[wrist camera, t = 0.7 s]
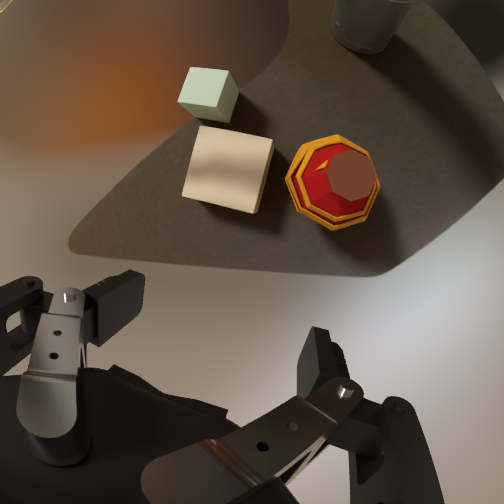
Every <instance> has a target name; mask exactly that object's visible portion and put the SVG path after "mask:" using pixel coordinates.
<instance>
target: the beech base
mask: <svg viewBox="0 0 504 504" xmlns="http://www.w3.org/2000/svg"><path fill="white" fill-rule="evenodd" d="M274 148H275V147H274V143H273V140H272V139H268V138H264V137H259V136H254V135H250V134H245V133H240V132H235V131H229V130H224V129H218V128H212V127H206V126H200V128H199V131H198V135H197V138H196V142H195V146H194V149H193V153H192V157H191V161H190V164H189V168H188V172H187V176H186V180H185V185H184V189H183V193H182V196H184V197H188V198H193V199H197V200H201V201H205V202H209V203H213V204H217V205H221V206H225V207H229V208H233V209H237V210H240V211H244V212H248V213H252V214H254V213H257V212H258V209H259V205H260V201H261V197H262V193H263V190H264V186H265V182H266V178H267V174H268V171H269V167H270V163H271V159H272V155H273V152H274Z"/></svg>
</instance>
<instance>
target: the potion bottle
mask: <svg viewBox="0 0 504 504" xmlns="http://www.w3.org/2000/svg"><path fill="white" fill-rule="evenodd" d="M285 181H286V183H287V186H288V188H289V191H290V193H291V196H292V198H293V201H294V203H295V206H296V209H297V211H298V212H300V213H302V214H304V215H306V216H307V217H309V218H311V219H313V220H315V221H316V222H318V223H320V224H322V225H323V226H325V227H327V228H328V229H330V230H332V231H334V230H337V229H340V228H344V227H347V226H350V225H353V224H357V223H360V222H363V221H365V220H366V218H367V216H368V214H369V212H370V209H371V207H372V205H373V202H374V200H375V198H376V195H377V193H378V191H379V188H380V183H379V180H378V177H377V174H376V171H375V168H374V166H373V163H372V160H371V157H370V155H369V152H367V151H365V150H364V149H362V148H361V147H359V146H357V145H356V144H354V143H352V142H350V141H349V140H347V139H345V138H343V137H342V136H340V135H333V136H329V137H325V138H321V139H318V140H315V141H312V142H309V143H306V144H303V145H302V146H301V147H300V149H299V150H298V152H297V153H296V155H295V157H294V160H293V162H292V164H291V166H290V169H289V171H288V173H287V175H286V177H285Z"/></svg>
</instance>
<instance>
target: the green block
mask: <svg viewBox="0 0 504 504" xmlns="http://www.w3.org/2000/svg"><path fill="white" fill-rule="evenodd" d="M238 94H239V90H238V88H237V86H236V84H235V83H234V81H233V78H232V76H231V75H230V73H229V71H225V70H217V69H216V70H215V69H206V68H194V67H190V70H189V72H188V75H187V77H186V80H185V83H184V85H183V88H182V91H181V94H180V96H179V99H178V103H179V104H181V105H182V106H183V107H184V108H185V109H187V110H188V111H189V112H190V113H192V114H193V115H194V116H195V117H197V118H203V119H209V120H215V121H220V122H225V123H229V122H230V119H231V116H232V113H233V109H234V106H235V103H236V100H237V97H238Z"/></svg>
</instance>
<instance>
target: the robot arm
mask: <svg viewBox="0 0 504 504" xmlns="http://www.w3.org/2000/svg"><path fill="white" fill-rule="evenodd" d="M414 1H415V0H336V1H335V6H334V11H333V16H332V21H331V31H332V34H333V36H334V37H335V39H336V40H337V41H338V42H339V43H340V44H342V45H343V46H344V47H346V48H348V49H349V50H352V51H354V52H357V53H361V54H367V55H371V54H377V53H380V52H382V51H383V50H384V49H385V48H386V46H387V44H388V43H389V41H390V40H391V38H392V37H393V35H394V33H395V32H396V30H397V29H398V27H399V25H400V24H401V22H402V20H403V19H404V17H405V16H406V14H407V12H408V11H409V9H410V7H411V6H412V4H413V3H414ZM144 285H145V276H144V274H141V273H139V272H136V271H133V270H128V271H126V272H124V273H122V274H120V275H116V276H111V277H108V278H106V279H104V280H102V281H100V282H98V283H97V284H94V285H92V286H90V287H88V288H86V289H84V290H82V291H81V290H79V289H77V288H72V287H65V288H60V289H58V290H56V291H55V293H54V294H53V293H49V292H45V291H43V281H42V280H41V279H40V278H38V277H34V276H26V277H21V278H19V279H17V280H14V281H12V282H10V283H8V284H6V285H3V286H1V287H0V504H299V502H298V501H297V500H296V499H295V497H294V496H293V495H292V493H291V492H290V491H289V490H288V488H287V487H286V485H288V484H289V483H290V482H291V481H292V480H293V479H294V478H295V477H296V476H297V475H298V474H299V473H300V472H301V471H302V470H303V469H305V468H306V467H307V466H308V465H309V464H310V463H311V462H312V461H313V460H315V459H316V458H317V457H318V456H319V455H320V454H321V453H322V452H323V451H324V450H325V449H326V448H327V447H328V446H329V445H333V446H336V447H338V448H341V449H344V450H347V451H348V454H349V474H350V504H445V503H444V499H443V495H442V492H441V488H440V484H439V480H438V477H437V473H436V470H435V467H434V463H433V460H432V457H431V454H430V451H429V448H428V445H427V442H426V439H425V436H424V434H423V431H422V428H421V425H420V423H419V420H418V417H417V414H416V412H415V409H414V408H413V406H412V405H411V404H410V403H409V402H408V401H406V400H405V399H403V398H400V397H396V396H390V397H387V398H386V399H385V400H384V402H383V403H382V405H381V404H379V403H376V402H373V401H370V400H368V399H365V398H364V397H363V396H364V392H363V389H362V388H361V386H360V385H358V384H357V383H356V382H355V381H353V380H350V376H349V372H348V368H347V364H346V361H345V358H344V354H343V350H342V349H341V348H340V346H339V345H338V344H337V343H335V342H331V338H330V334H329V331H328V330H326V329H321V328H317V327H314V326H313V327H312V328H311V330H310V332H309V334H308V337H307V340H306V342H305V344H304V347H303V349H302V351H301V354H300V357H299V360H298V365H297V395H296V396H294V397H292V398H291V399H289V400H288V401H286V402H285V403H283V404H281V405H280V406H278V407H277V408H275V409H273V410H271V411H270V412H268V413H266V414H265V415H263V416H261V417H260V418H258V419H256V420H254V421H252V422H250V423H249V424H247V425H245V426H243V427H239V426H238V425H237V424H235V423H234V422H232V421H230V420H228V419H226V415H227V412H228V410H227V409H224V408H221V407H218V406H215V405H212V404H208V403H205V402H202V401H200V400H196V399H190V398H184V397H178V396H173V395H168V394H165V393H162V392H161V391H159V390H158V389H156V388H155V387H153V386H152V385H150V384H149V383H148V382H146V381H145V380H143V379H142V378H140V377H139V376H137V375H135V374H133V373H131V372H129V371H127V370H124V369H122V368H120V367H118V366H116V365H113V366H112V367H111V368H110V369H109V370H104V369H99V368H88V365H87V364H88V362H87V344H88V343H89V342H91V343H92V344H94V345H96V346H98V347H100V346H101V345H103V344H104V343H105V342H106V341H107V340H109V339H110V338H111V337H112V336H113V335H115V334H116V333H117V332H118V331H119V330H120V329H122V328H123V327H124V326H126V325H127V324H128V323H129V322H130V321H131V320H133V319H134V318H135V317H136V316H138V314H139V313H140V311H141V309H142V304H143V294H144ZM18 311H19V312H20V318H21V325H19V326H17V327H16V328H14V329H13V330H11V331H10V332H8V333H7V329H6V321H7V319H8V318H9V317H10V316H11V315H13V314H14V313H16V312H18ZM30 353H31V356H30V360H29V365H28V369H27V371H26V372H23V374H22V375H12V376H3V375H4V374H5V373H6V372H8V371H9V370H10V369H11V368H12V367H14V366H15V365H16V364H18V363H19V362H20V361H21V360H23V359H24V358H25V357H27V356H28V355H29V354H30Z"/></svg>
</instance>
